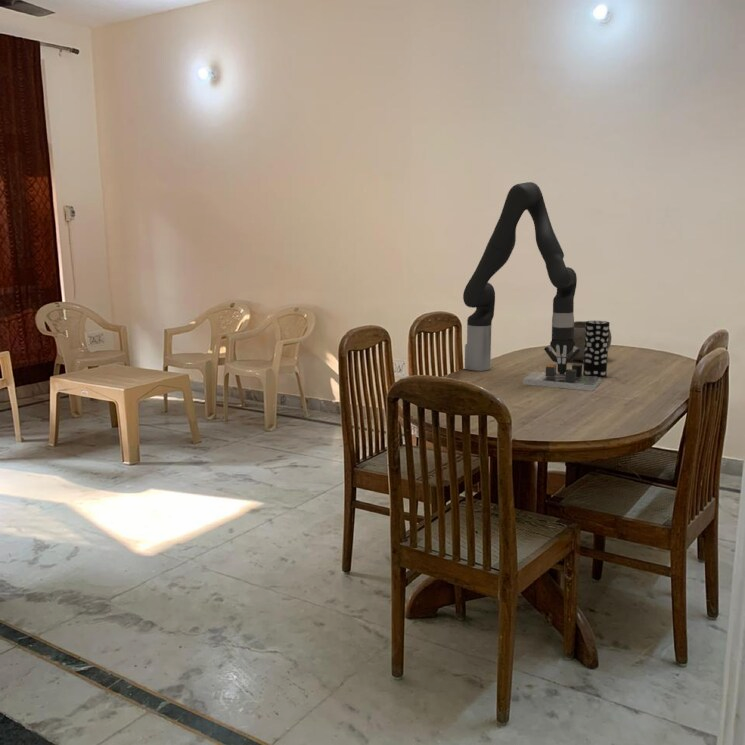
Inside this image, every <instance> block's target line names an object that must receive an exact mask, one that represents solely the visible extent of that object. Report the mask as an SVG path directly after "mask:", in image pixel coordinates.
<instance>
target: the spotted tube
mask: <svg viewBox="0 0 745 745" xmlns="http://www.w3.org/2000/svg"><path fill="white" fill-rule="evenodd" d="M609 329H610V322H609V321H606V320H587V321H586V328H585V347H584V361H583V365H582V376H592V377H601V379H604V378H607V373H608V370H607V368H608V352H609V349H608V339H609Z"/></svg>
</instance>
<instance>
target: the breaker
mask: <svg viewBox="0 0 745 745" xmlns="http://www.w3.org/2000/svg"><path fill="white" fill-rule="evenodd" d="M545 372H546V376H551V377H554V376H556V373H557V363H546V364H545Z"/></svg>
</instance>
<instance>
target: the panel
mask: <svg viewBox="0 0 745 745" xmlns="http://www.w3.org/2000/svg"><path fill="white" fill-rule="evenodd" d="M601 379H602V378H601V377H592V376H583V364H580V363H579V364H578V363H573V364H572V365H571V369H569V368H568V369H567V370H566V372H565V374H559V372H556V376H554V377H551V376H546V371H545V372H543V371H532V372H531V373H529V374H528V375H527V376H525V377H524V378H523V380H522V381H523V383H522V384H523V385H525V386H526V385H528V386H536V387H537V386H538V387H547V388H548V387H549V388H559V389H569V390H577V391H588V392H589V391H590V392H593V391H594V390H595V389H596V388H598V386H599V385H600V384H601Z"/></svg>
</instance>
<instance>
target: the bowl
mask: <svg viewBox="0 0 745 745" xmlns="http://www.w3.org/2000/svg"><path fill="white" fill-rule="evenodd" d="M585 328H586V321H584V320H583V321H580V320H579V321H577V320H576V321H574V342H575V346H577V347H578V348H581V351H580V352H579V353H578V354H577V355H576V357H575V358H574V359H573V360H572V361H577V362H584V347H585ZM611 343H612V333H611V329H610V328H609V339H608V350H609V349H610V347H611ZM573 349H574V348H573ZM573 349H572V350H571V351H570V352H569V353H568V358H567V359H569V358H570V357H571V355H572V354H573V353H574V352H573Z"/></svg>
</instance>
